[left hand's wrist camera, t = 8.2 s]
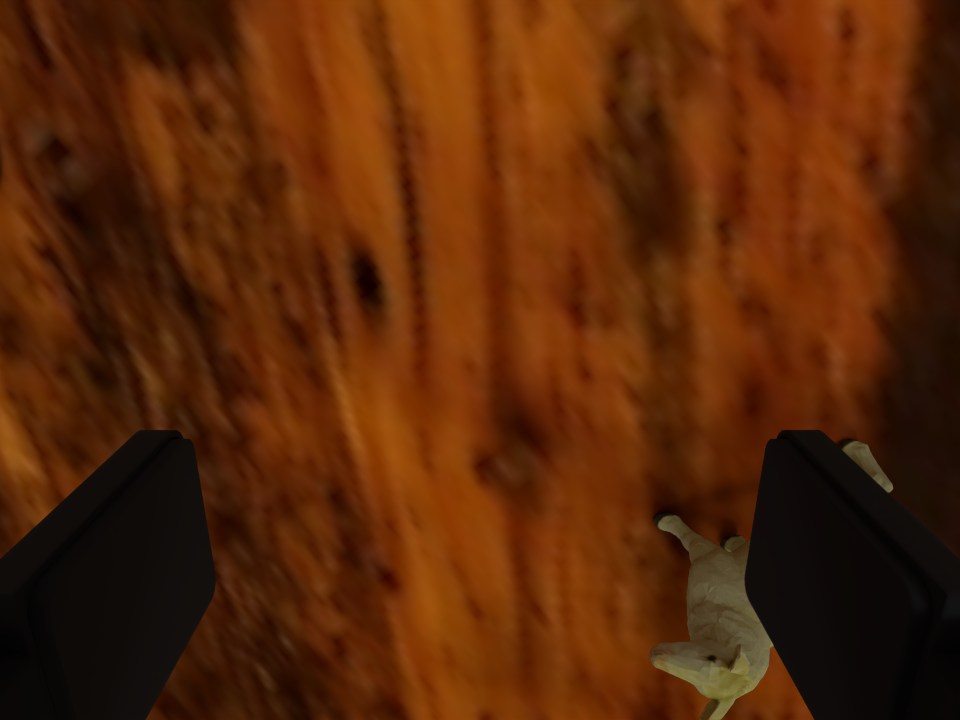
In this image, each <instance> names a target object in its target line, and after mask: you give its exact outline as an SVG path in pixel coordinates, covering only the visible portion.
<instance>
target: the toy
mask: <svg viewBox="0 0 960 720" xmlns="http://www.w3.org/2000/svg"><path fill="white" fill-rule="evenodd" d="M838 447H840V448H841V449H842V450H843V451H844V452H845V453H846V454H847V455H848V456H849V457H850V458H851V459H852V460H854V461H855V462H856V463H857V464H858V465H859V466H860V467H861V468H862V469H863V470H864V471H865V472H866V473H867V474H869V475H870V476H871V477H872V478H873V479H874V480H875V481H876V482H877V483H878V484H879V485H880V486H881V487H883V488H884V489H885V490H886V491H887V492H891V491H892V489H893V486H892V483H891V482H890V481H889V479H888V478H887V477H886V475H885V474H884V472H883V471H882V470H881V468H880V467H879V465H878V464H877V462H876V461H875V459H874V457H873V456H872V454H871V452H870V450H869V447H868V445H867V444H864V443H861V442H858V441H855V440H851V439H848V440H846V441H843V442H841V444H840V445H839V446H838ZM653 522H654V524H655V526H657V527H658V528H659V529H661V530H664V531H668V532H671V533H673V534H674V535H676V536H677V537H678V538H679V539H680V540H681V542H682V544H683V546H684V547H685V548H686V549H687V550H688V551H689V556H690V561H691V563H692V565H691V568H690V571H689V577H688V587H687V598H686V599H687V615H688V623H687V626H688V628H689V634H690V636H691V641H686V642H674V643H665V642H660V643H659V644H657V645H656V646H654V647H653V648H652V650H651V651H650V659H651V662H652V665H654V666H655V667H656V668H659V669H661V670H663V671H666V672H668V673H670V674H673V675H675V676H677V677H679V678H682V679H684V680H686V681H688V682H690V683H692V684H693V685H694V686H695V687H696V688H697V690H698V691H699V692H700V693H701V694H703V695H704V696H706V697H707V698H712V699H713V700H712V701H711V702H710V703H708V704H707V706H706V707H705V709H704V711H703V712H702V714H701V716H700V718H699V720H720V719H721V718H722V717H723V716H724V715H725V714H726V712H727V711H728V710H729V708H730V707H731V706H732V704H733V702H734V701H735V699H736V698H738V697H740V696H742V695H744V694H746V693H748V692H750V691H752V690H753V689H754V688H755V687H756V685H757V684H758V683H759V681H760V680H761V679H762V677H763V676H764V674H765V672H766V670H767V668H768V666H769V653H770V648H771V647H772V646H774V645H773V644H772V642H771V640H770V638H769V636H768V635H767V633H766V631H765V629H764V627H763V625H762V624H761V622H760V620H759V618H758V616H757V615H756V613H755V611H754V609H753V607H752V605H751V604H750V602H749V600H748V598H747V595H746V591H745V583H744V577H745V570H746V564H747V558H748V551H749V545H750V540H748V541H747V542H746V541H745V539H744V538H743V536H742V535H728V536H726V537H725V538H724V539H723V540H722V541H721V543H720V546H721V547H722V548H724V549H725V550H724V549H722V548H721V547H719V546H718V545H716V544H714V543H712V542H711V541H710V540H707V539H704V538H703V537H702V536H701V535H698V534H696V533H695V532H693V531H692V530H691V529H690V528H689V527H688V526H686V525H685V524H684V523H683V522H682V520H681V519H680V518H679V517H678V516H676V515H673V514H671V513H663V514H659V515H657V516H656V517H655V519H654V521H653ZM726 550H727V551H726Z"/></svg>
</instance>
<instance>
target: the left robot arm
mask: <svg viewBox="0 0 960 720" xmlns="http://www.w3.org/2000/svg"><path fill="white" fill-rule="evenodd" d="M215 583H216V577H215V570H214V564H213V558H212V551H211V545H210V539H209V533H208V527H207V521H206V515H205V509H204V503H203V497H202V491H201V485H200V479H199V473H198V467H197V461H196V454H195V449H194V445H193V443H192V441H191V440H190V439H183V436H182V435H181V433H180V432H179V431H177V430H140V431H138V432H137V433H136V434H134V435H133V436H132V437H131V438H130V439H129V440H128V441H127V442H126V443H125V444H124V445H123V446H122V447H120V448H119V449H118V450H117V451H116V452H115V453H114V454H113V455H112V456H111V457H110V458H109V459H108V460H106V461H105V462H104V463H103V464H102V465H101V466H100V467H99V468H98V469H97V470H96V471H95V472H94V473H93V474H91V475H90V476H89V477H88V478H87V479H86V480H85V481H84V482H83V483H82V484H81V485H80V486H79V487H77V488H76V489H75V490H74V491H73V492H72V493H71V494H70V495H69V496H68V497H67V498H66V499H65V500H63V501H62V502H61V503H60V504H59V505H58V506H57V507H56V508H55V509H54V510H53V511H52V512H51V513H49V514H48V515H47V516H46V517H45V518H44V519H43V520H42V521H41V522H40V523H39V524H38V525H37V526H36V527H34V528H33V529H32V530H31V531H30V532H29V533H28V534H27V535H26V536H25V537H24V538H23V539H22V540H20V541H19V542H18V543H17V544H16V545H15V546H14V547H13V548H12V549H11V550H10V551H9V552H8V553H6V554H5V555H4V556H3V557H2V558H1V559H0V720H146V718H147V716H148V714H149V712H150V711H151V709H152V707H153V705H154V703H155V702H156V700H157V698H158V696H159V694H160V693H161V691H162V689H163V687H164V685H165V683H166V682H167V680H168V678H169V676H170V674H171V673H172V671H173V669H174V667H175V665H176V664H177V662H178V660H179V658H180V656H181V654H182V653H183V651H184V649H185V647H186V645H187V644H188V642H189V640H190V638H191V636H192V635H193V633H194V631H195V629H196V627H197V625H198V624H199V622H200V620H201V618H202V616H203V615H204V613H205V611H206V609H207V607H208V605H209V604H210V602H211V600H212V598H213V595H214V591H215ZM744 583H745V591H746V595H747V598H748V600H749V602H750V604H751V605H752V607H753V609H754V611H755V613H756V615H757V616H758V618H759V620H760V622H761V624H762V625H763V627H764V629H765V631H766V633H767V635H768V636H769V638H770V640H771V642H772V644H773V645H774V647H775V649H776V651H777V653H778V654H779V656H780V658H781V660H782V662H783V664H784V665H785V667H786V669H787V671H788V673H789V674H790V676H791V678H792V680H793V682H794V683H795V685H796V687H797V689H798V691H799V693H800V694H801V696H802V698H803V700H804V702H805V703H806V705H807V707H808V709H809V711H810V712H811V714H812V716H813V718H814V720H960V559H959V558H958V557H957V556H956V555H955V554H954V553H952V552H951V551H950V550H949V549H948V548H947V547H946V546H945V545H944V544H943V543H942V542H941V541H940V540H938V539H937V538H936V537H935V536H934V535H933V534H932V533H931V532H930V531H929V530H928V529H927V528H926V527H924V526H923V525H922V524H921V523H920V522H919V521H918V520H917V519H916V518H915V517H914V516H913V515H912V514H911V513H909V512H908V511H907V510H906V509H905V508H904V507H903V506H902V505H901V504H900V503H899V502H898V501H897V500H895V499H894V498H893V497H892V496H891V495H890V494H889V493H888V492H887V491H886V490H885V489H884V488H883V487H881V486H880V485H879V484H878V483H877V482H876V481H875V480H874V479H873V478H872V477H871V476H870V475H869V474H867V473H866V472H865V471H864V470H863V469H862V468H861V467H860V466H859V465H858V464H857V463H856V462H855V461H854V460H852V459H851V458H850V457H849V456H848V455H847V454H846V453H845V452H844V451H843V450H842V449H841V448H840V447H838V446H837V445H836V444H835V443H834V442H833V441H832V440H831V439H830V438H829V437H828V436H827V435H826V434H824V433H823V432H822V431H820V430H783V431H781V432H780V433H779V435H778V436H777V439H770V440H769V441H768V443H767V445H766V449H765V454H764V461H763V467H762V473H761V479H760V485H759V491H758V497H757V503H756V509H755V515H754V521H753V527H752V533H751V539H750V545H749V551H748V558H747V564H746V570H745V577H744Z"/></svg>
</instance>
